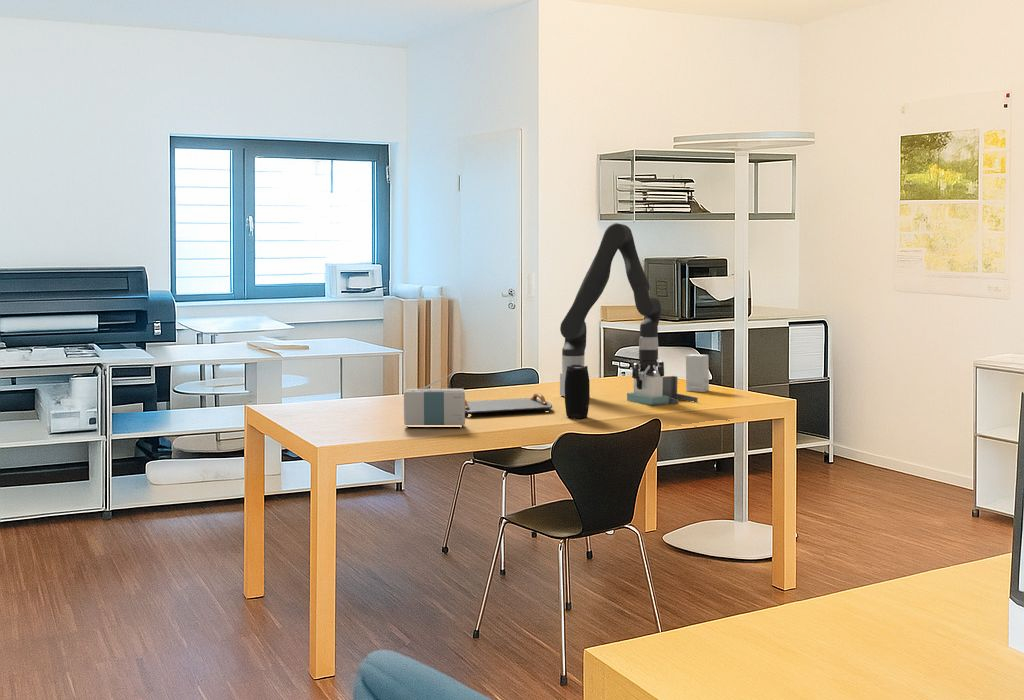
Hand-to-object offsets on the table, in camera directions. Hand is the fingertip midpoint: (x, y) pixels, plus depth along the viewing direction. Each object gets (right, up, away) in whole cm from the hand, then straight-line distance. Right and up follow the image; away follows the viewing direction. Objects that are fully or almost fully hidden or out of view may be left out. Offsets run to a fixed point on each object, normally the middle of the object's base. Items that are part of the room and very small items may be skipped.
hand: (648, 388), depth 412 cm
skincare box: (+25, -2, +31) cm, 40 cm away
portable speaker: (-31, -10, -34) cm, 47 cm away
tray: (0, -6, +1) cm, 6 cm away
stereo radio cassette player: (-81, -12, -52) cm, 97 cm away
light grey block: (0, -5, +1) cm, 5 cm away
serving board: (-58, -9, -19) cm, 62 cm away
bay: (+11, -5, +3) cm, 13 cm away
